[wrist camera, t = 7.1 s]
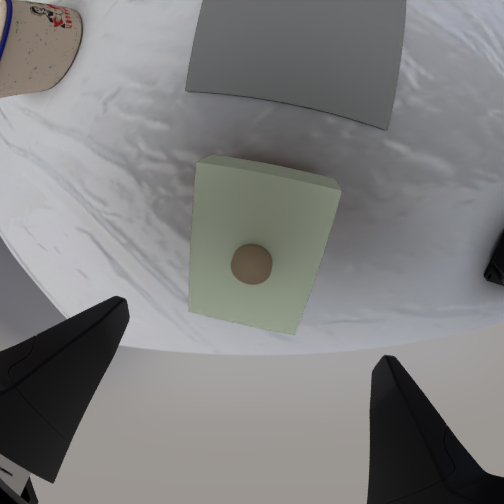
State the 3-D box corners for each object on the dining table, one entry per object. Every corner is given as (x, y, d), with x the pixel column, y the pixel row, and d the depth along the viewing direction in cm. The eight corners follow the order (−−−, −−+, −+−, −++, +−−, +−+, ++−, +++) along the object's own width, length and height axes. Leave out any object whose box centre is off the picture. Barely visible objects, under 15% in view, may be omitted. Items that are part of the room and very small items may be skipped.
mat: (404, -13, 9) (406, -16, 8) (384, 129, 15) (387, 130, 14) (219, -46, 9) (217, -49, 9) (188, 91, 15) (185, 91, 15)
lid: (334, 178, 13) (344, 195, 11) (295, 309, 18) (294, 342, 15) (211, 154, 14) (191, 164, 11) (200, 288, 18) (185, 317, 16)
